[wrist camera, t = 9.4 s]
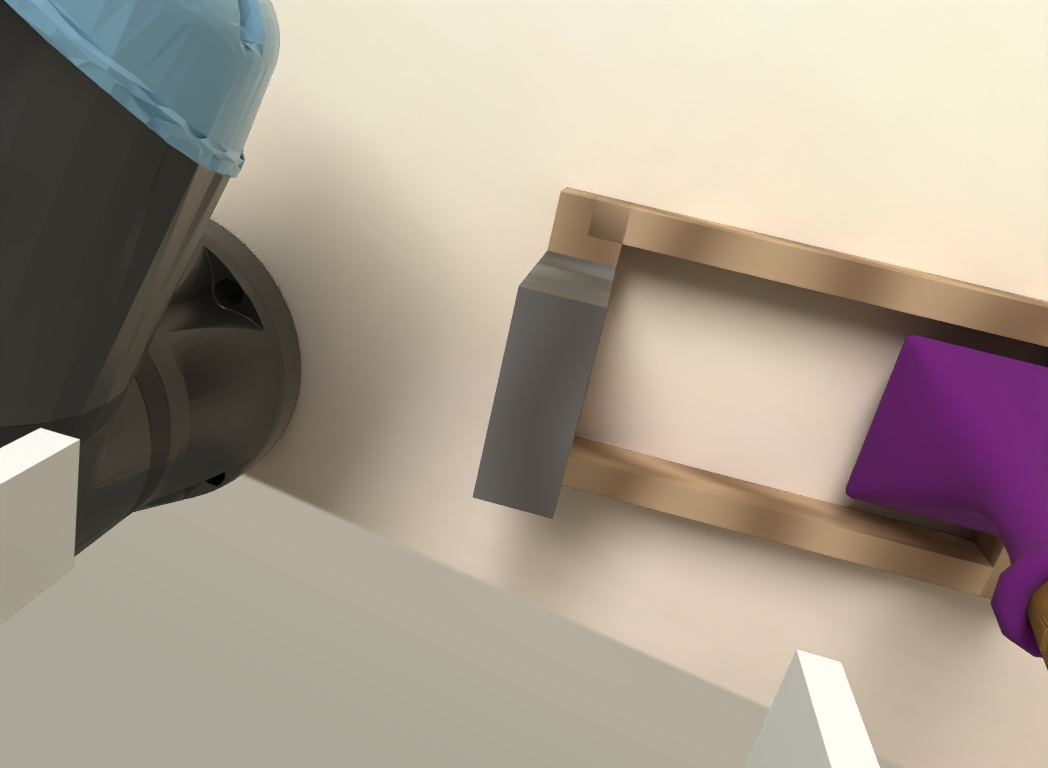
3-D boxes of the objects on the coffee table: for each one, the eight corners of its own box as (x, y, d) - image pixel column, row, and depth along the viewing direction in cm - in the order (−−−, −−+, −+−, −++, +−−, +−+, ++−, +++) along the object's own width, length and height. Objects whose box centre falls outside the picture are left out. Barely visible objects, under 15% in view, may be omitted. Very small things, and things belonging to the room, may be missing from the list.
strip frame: (507, 447, 39) (460, 555, 29) (566, 187, 35) (535, 210, 25) (1001, 577, 37) (1127, 738, 28) (1128, 320, 33) (1332, 402, 23)
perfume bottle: (986, 506, 37) (1280, 833, 20) (827, 465, 37) (978, 748, 20) (1057, 357, 34) (1463, 584, 17) (885, 315, 35) (1114, 495, 18)
